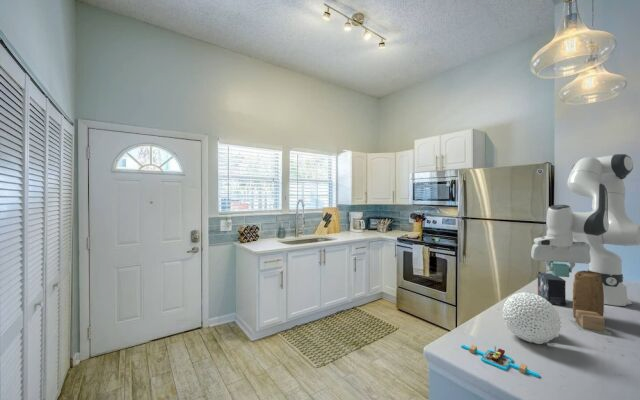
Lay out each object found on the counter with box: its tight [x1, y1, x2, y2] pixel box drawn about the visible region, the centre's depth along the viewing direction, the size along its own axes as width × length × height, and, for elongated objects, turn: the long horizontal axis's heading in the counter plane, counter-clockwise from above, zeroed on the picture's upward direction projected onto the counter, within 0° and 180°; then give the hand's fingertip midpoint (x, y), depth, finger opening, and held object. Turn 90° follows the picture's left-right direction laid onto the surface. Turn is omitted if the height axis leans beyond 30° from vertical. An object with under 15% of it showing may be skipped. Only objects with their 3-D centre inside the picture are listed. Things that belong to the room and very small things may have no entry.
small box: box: [537, 272, 567, 307], centre depth 132 cm, size 13×7×12 cm, turn 159°
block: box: [572, 270, 605, 319], centre depth 109 cm, size 11×8×20 cm
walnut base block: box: [575, 310, 606, 332], centre depth 101 cm, size 6×6×5 cm
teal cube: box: [550, 261, 570, 278], centre depth 120 cm, size 5×5×5 cm
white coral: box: [502, 291, 562, 345], centre depth 96 cm, size 20×18×16 cm
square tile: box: [569, 319, 613, 336], centre depth 101 cm, size 9×9×1 cm
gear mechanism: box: [461, 344, 540, 379], centre depth 81 cm, size 20×5×9 cm
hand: (559, 271), depth 120 cm, fingers closed on teal cube, 5 cm apart
